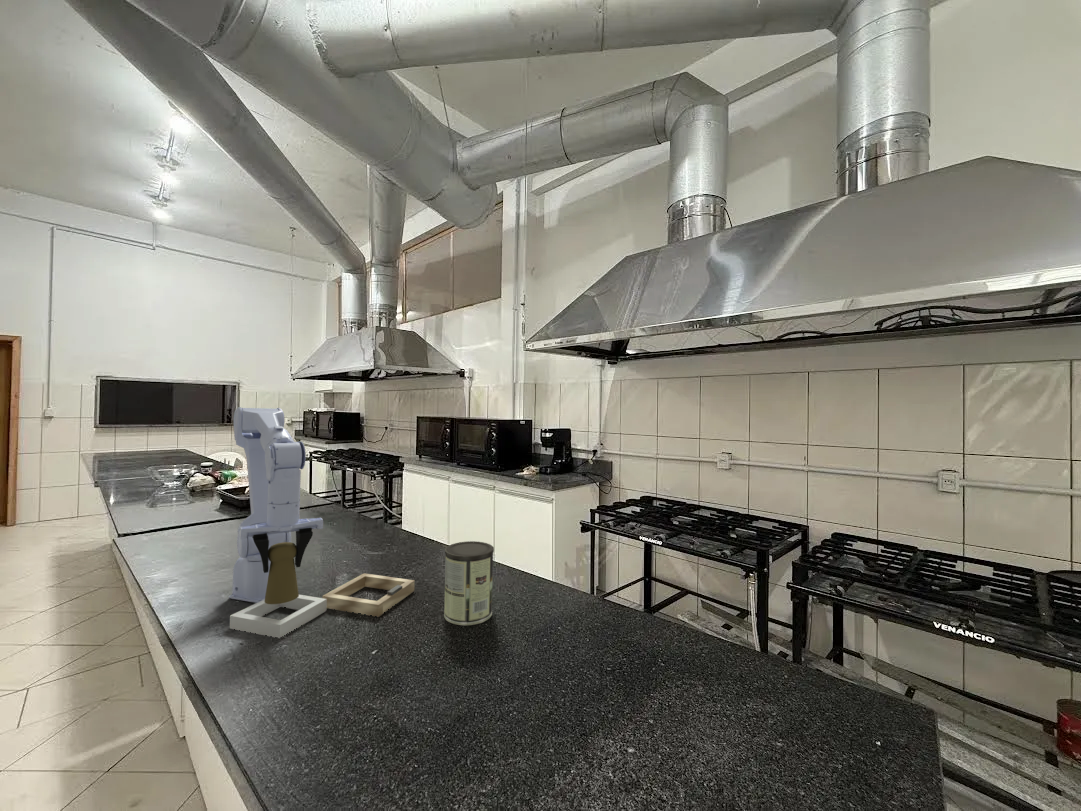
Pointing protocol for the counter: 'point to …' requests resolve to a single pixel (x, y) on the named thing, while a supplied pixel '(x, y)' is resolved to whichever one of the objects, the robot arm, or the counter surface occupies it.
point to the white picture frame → (255, 623)
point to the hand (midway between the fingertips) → (281, 568)
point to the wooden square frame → (369, 607)
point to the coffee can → (468, 582)
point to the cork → (281, 574)
